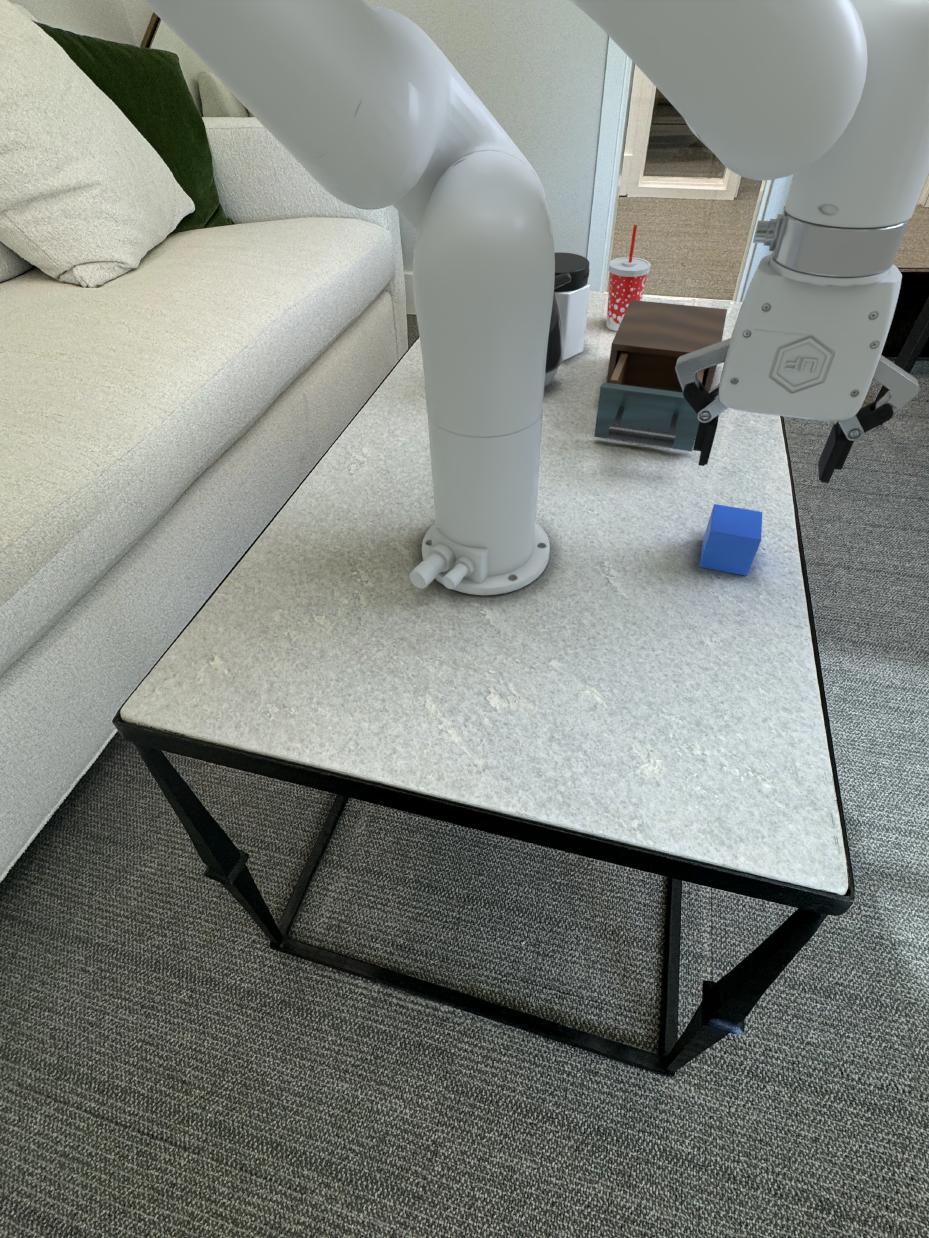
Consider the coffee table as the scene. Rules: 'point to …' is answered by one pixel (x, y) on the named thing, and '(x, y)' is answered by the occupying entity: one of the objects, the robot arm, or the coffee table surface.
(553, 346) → the pump dispenser
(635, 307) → the cabinet
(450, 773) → the coffee table surface
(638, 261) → the beverage cup
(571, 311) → the jar
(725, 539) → the blue block
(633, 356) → the drawer
